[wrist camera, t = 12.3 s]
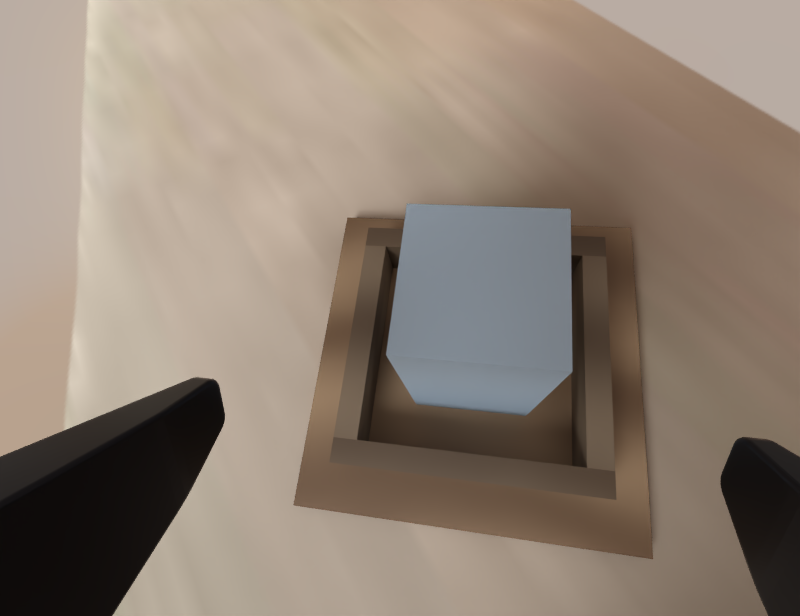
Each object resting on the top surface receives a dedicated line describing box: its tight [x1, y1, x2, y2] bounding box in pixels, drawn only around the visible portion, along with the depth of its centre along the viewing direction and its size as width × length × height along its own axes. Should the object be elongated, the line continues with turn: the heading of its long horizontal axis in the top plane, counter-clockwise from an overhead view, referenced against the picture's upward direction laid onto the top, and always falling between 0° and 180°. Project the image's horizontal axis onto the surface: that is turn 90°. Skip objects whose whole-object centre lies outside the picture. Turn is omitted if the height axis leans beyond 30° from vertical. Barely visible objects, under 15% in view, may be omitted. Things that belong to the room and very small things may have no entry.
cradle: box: [294, 218, 653, 559], centre depth 20 cm, size 15×15×3 cm
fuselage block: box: [386, 204, 572, 416], centre depth 17 cm, size 5×5×9 cm
